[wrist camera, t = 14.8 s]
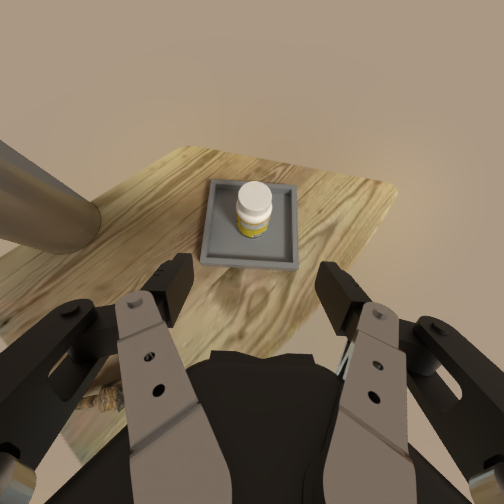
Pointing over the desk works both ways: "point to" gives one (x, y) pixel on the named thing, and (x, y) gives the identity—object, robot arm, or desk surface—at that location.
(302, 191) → the desk surface
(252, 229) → the supplement bottle
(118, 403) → the cat figurine
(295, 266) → the tray
